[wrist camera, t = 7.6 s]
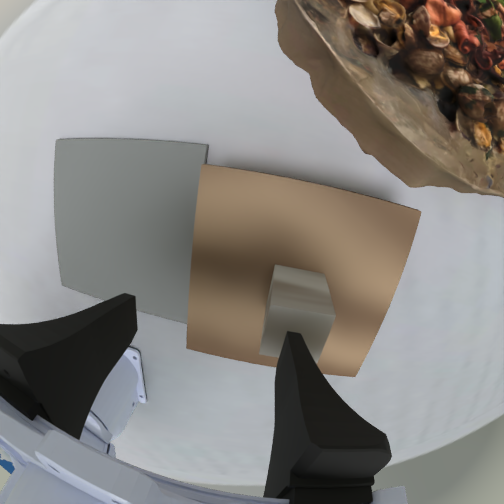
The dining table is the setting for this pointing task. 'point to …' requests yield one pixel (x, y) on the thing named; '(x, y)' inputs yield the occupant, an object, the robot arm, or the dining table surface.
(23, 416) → the robot arm
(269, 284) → the lid
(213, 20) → the dining table surface
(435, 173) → the food dish
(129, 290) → the mat
